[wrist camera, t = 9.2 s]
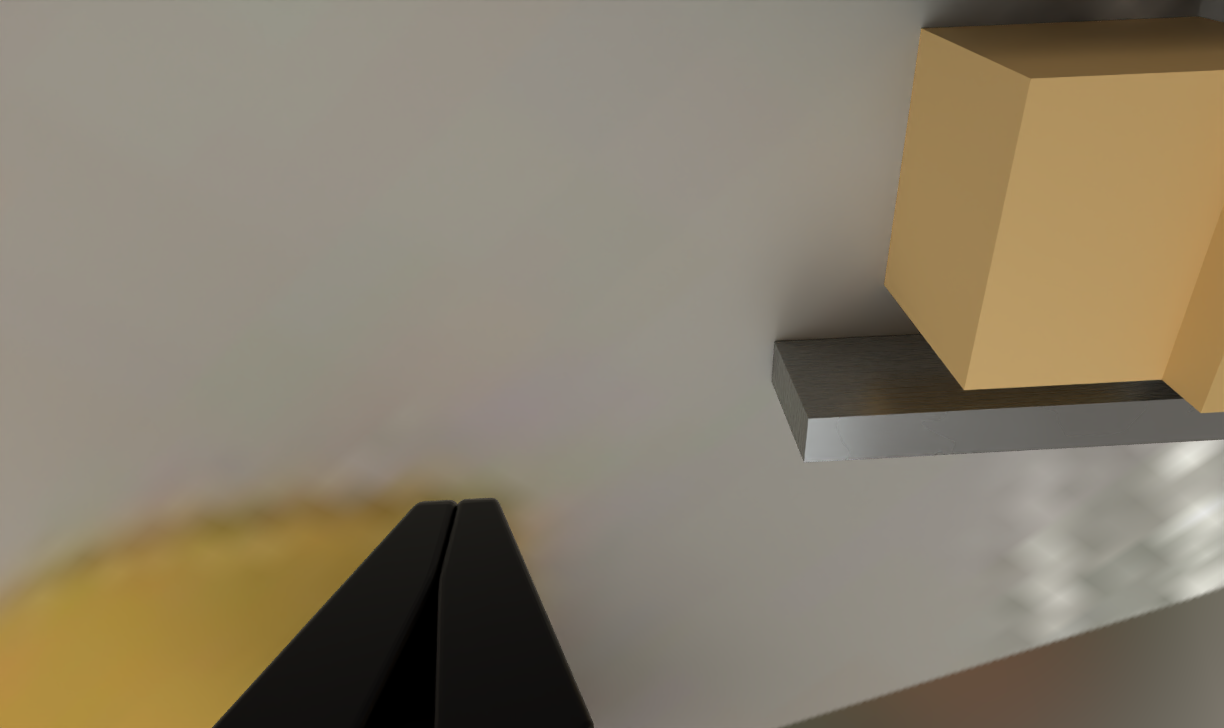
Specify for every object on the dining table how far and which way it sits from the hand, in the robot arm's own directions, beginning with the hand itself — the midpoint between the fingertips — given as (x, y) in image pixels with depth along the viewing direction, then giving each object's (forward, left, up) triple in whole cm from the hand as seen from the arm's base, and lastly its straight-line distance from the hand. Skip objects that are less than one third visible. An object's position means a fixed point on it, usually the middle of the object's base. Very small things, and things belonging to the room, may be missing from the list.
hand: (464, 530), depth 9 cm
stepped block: (0, -12, -12) cm, 17 cm away
